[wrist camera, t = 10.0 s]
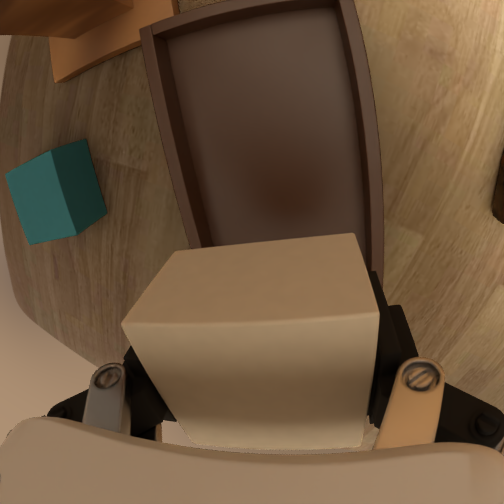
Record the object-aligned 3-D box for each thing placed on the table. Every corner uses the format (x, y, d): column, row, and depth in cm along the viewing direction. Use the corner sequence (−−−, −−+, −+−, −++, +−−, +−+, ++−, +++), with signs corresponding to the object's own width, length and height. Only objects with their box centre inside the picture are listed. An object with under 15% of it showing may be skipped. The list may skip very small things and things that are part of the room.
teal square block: (58, 224, 23) (29, 245, 19) (38, 160, 20) (4, 174, 17) (107, 213, 21) (77, 235, 18) (86, 138, 19) (50, 149, 15)
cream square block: (216, 369, 13) (192, 444, 10) (174, 249, 10) (118, 323, 7) (354, 364, 12) (361, 446, 8) (354, 231, 9) (380, 312, 6)
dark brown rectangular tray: (217, 289, 23) (209, 309, 21) (156, 35, 15) (138, 29, 13) (375, 276, 21) (382, 296, 18) (343, -2, 12) (349, -16, 10)
